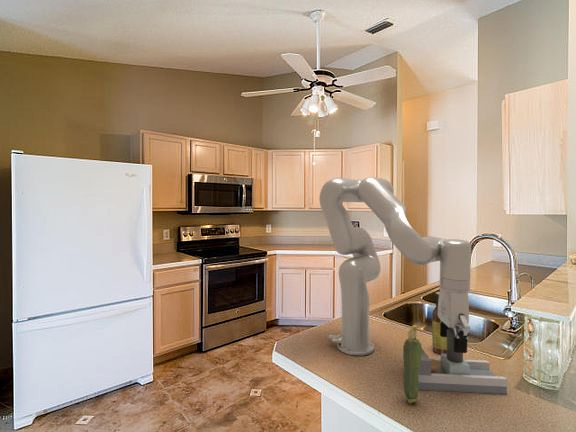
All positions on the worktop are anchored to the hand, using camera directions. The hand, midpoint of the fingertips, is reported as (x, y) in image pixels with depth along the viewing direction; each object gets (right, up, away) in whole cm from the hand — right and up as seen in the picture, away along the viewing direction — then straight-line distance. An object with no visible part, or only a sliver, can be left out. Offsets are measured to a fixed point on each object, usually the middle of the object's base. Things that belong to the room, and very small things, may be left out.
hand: (452, 344), depth 89 cm
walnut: (-5, -9, +1) cm, 10 cm away
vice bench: (0, -11, 0) cm, 11 cm away
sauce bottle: (+6, -10, +18) cm, 22 cm away
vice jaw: (0, -8, 0) cm, 8 cm away
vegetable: (-15, -11, -9) cm, 21 cm away
